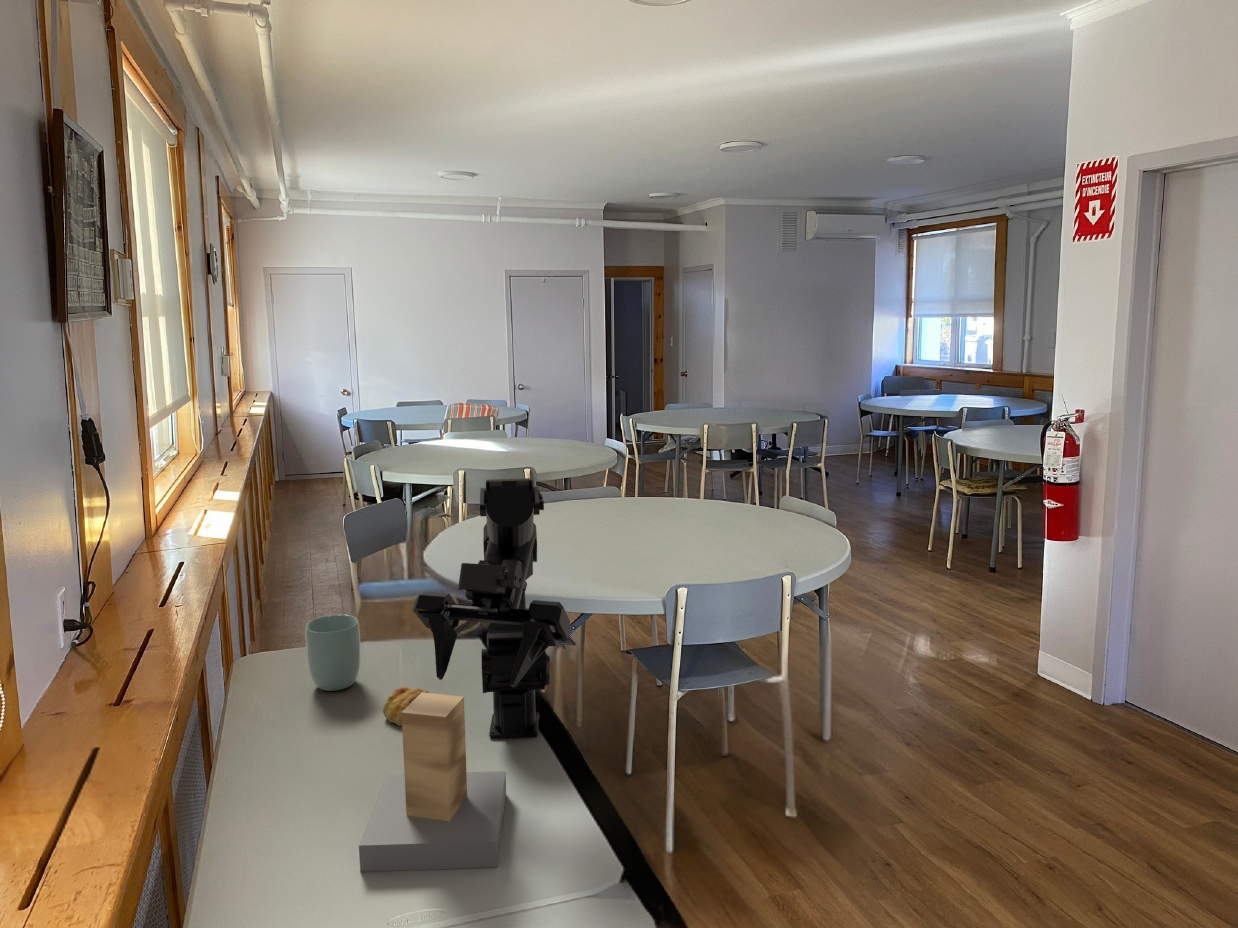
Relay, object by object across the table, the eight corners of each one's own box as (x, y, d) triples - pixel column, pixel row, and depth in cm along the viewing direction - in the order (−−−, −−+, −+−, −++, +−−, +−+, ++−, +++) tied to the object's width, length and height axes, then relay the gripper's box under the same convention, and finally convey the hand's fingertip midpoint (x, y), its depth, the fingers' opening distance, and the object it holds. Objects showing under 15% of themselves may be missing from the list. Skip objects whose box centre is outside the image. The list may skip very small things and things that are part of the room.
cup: (308, 679, 140) (303, 617, 138) (360, 671, 143) (356, 611, 141) (310, 699, 133) (305, 635, 131) (364, 691, 136) (361, 628, 134)
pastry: (461, 717, 128) (460, 692, 127) (429, 738, 122) (428, 712, 121) (410, 703, 132) (409, 679, 132) (377, 722, 127) (375, 697, 126)
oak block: (426, 790, 103) (421, 692, 101) (467, 796, 102) (463, 696, 100) (406, 815, 98) (401, 712, 96) (449, 820, 97) (445, 716, 95)
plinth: (387, 797, 107) (386, 774, 107) (506, 794, 108) (505, 771, 107) (360, 871, 94) (358, 845, 93) (496, 867, 94) (496, 841, 94)
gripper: (416, 528, 111) (377, 647, 102) (562, 537, 107) (535, 662, 98) (444, 571, 120) (411, 684, 111) (581, 581, 116) (557, 699, 107)
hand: (475, 682), depth 107 cm, fingers open, 9 cm apart
